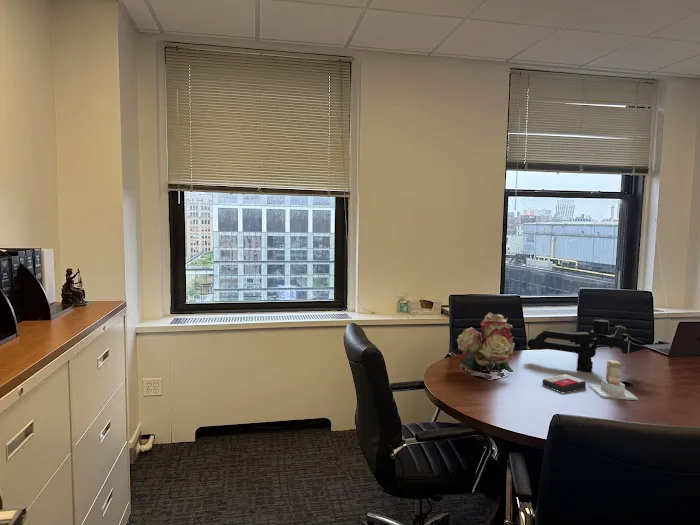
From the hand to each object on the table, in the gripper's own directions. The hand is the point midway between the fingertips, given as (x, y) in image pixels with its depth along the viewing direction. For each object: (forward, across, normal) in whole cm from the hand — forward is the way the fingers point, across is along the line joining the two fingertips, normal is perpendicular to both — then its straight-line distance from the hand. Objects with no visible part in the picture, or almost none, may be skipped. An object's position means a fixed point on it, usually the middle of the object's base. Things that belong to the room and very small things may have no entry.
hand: (645, 345), depth 209 cm
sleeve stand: (-13, -30, +17) cm, 37 cm away
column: (-13, -30, +15) cm, 36 cm away
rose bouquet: (-66, -31, +17) cm, 75 cm away
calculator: (-32, -33, +17) cm, 49 cm away
